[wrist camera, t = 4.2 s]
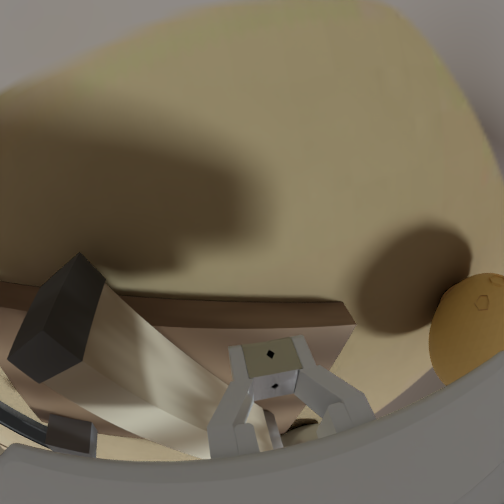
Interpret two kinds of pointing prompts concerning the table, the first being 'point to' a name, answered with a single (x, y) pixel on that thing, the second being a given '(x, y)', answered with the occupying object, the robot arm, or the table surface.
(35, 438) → the phone
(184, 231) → the table surface
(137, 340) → the stool leg
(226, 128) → the table surface
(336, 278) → the table surface
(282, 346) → the robot arm
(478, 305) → the stress ball
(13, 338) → the seat board
